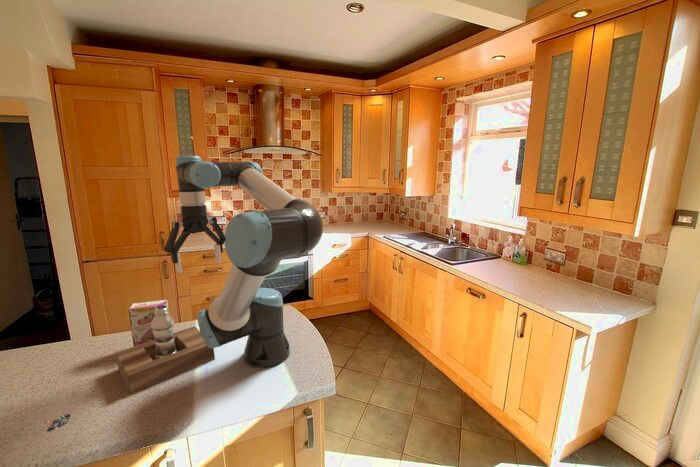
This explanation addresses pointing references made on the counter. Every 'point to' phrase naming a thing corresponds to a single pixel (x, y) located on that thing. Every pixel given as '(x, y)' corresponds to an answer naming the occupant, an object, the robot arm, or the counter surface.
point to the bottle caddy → (162, 360)
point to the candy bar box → (143, 320)
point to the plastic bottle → (163, 332)
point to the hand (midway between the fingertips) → (199, 267)
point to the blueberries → (59, 422)
